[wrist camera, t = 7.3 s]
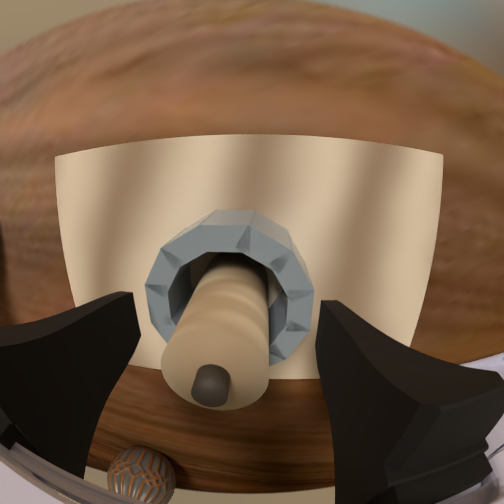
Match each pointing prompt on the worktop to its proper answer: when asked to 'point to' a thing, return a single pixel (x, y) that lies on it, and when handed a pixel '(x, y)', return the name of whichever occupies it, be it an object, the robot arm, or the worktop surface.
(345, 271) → the board
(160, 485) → the vase
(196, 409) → the worktop surface
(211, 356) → the wick peg
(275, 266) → the grey faceted ring
